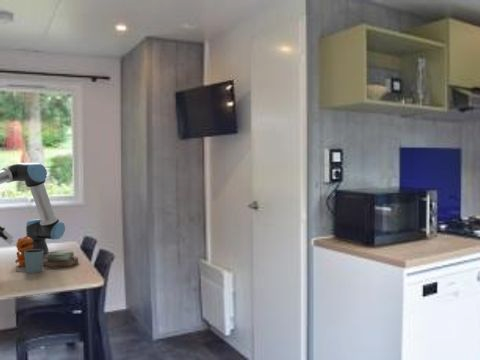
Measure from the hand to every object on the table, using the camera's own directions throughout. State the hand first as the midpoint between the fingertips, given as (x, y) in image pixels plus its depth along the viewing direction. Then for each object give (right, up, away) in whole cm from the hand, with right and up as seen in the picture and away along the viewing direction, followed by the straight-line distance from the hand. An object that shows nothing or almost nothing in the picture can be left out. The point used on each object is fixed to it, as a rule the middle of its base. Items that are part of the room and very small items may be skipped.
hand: (11, 241), depth 251 cm
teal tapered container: (+10, -18, +6) cm, 22 cm away
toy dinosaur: (-2, -18, +21) cm, 28 cm away
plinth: (+18, -17, +23) cm, 34 cm away
